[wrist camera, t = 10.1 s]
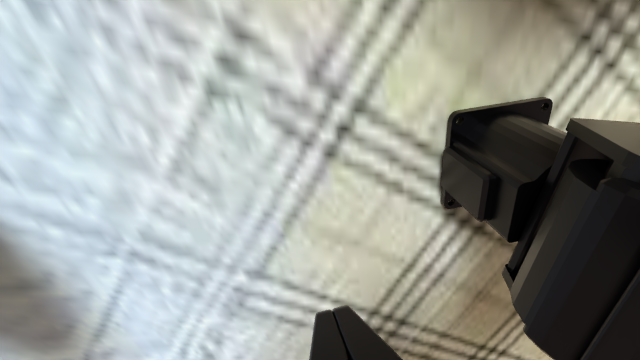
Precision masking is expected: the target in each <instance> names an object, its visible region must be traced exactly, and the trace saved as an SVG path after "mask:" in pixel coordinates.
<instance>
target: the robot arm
mask: <svg viewBox="0 0 640 360" xmlns="http://www.w3.org/2000/svg"><path fill="white" fill-rule="evenodd" d="M543 104H544V105H543ZM552 104H553V103H552V100H550V99H548V98H545V97H539V98H532V99H526V100H520V101H514V102H507V103H501V104H495V105H489V106H482V107H476V108H470V109H464V110H457V111H454V112H453V113H452V114H451V115H450V116H449V119H448V128H447V139H446V148H445V150H444V153H443V164H442V176H441V186H442V195H441V203H442V205H443V206H444V207H445V208H447V209H452V208H457V207H462V206H463V207H464V208H465V209H466V210H467V211H468V212H469V213H470V214H471V215H473V216H474V217H475V218H476V219H477V220H478V221H480V222H484V221H486V222H487V223H488V224H489V225H490V226H491V227H492V228H493V229H495V230H496V231H497V232H498V233H499V234H500V235H501V236H502V237H503V238H504V239H506V240H507V241H508V242H509V243H512V242H517V241H518V243H517V245H516V247H515V250H514V252H513V254H512V256H511V259H510V261H509V263H508V264H506V265H505V267H504V269H503V271H502V275H503V278H504V280H505V282H506V284H507V286H508V288H509V290H510V293H511V298H512V303H513V306H514V308H515V309H516V311H517V312H518V314H519V316H520V317H521V319H522V321H523V322H524V323H525V326H524V327H523V330H524V332H525V334H526V335H527V336H528V338H529V339H530V340H531V341H532V342H533V343H534V344H535V345H536V346H537V347H538V348H540V349H541V350H542V351H543V352H544V353H545V354H547V355H548V356H549V357H551V358H552V359H553V360H640V123H635V122H621V121H607V120H594V119H580V118H571V119H570V121H569V123H568V125H567V128H566V131H568V132H567V133H565V132H563V131H561V130H558V129H556V128H554V127H551V126H549V125H548V123H549V118H550V114H551V110H552ZM542 105H543V107H542ZM541 107H542V108H541ZM458 117H460V120H459V121H458V122H457V123H456V119H457V118H458ZM450 199H451V201H450V202H448V201H449V200H450ZM309 360H403V359H402V358H401V357H400V356H399V355H398V354H397V353H396V352H395V351H394V350H393V349H392V348H391V347H390V346H389V345H388V344H387V343H386V342H385V341H384V340H383V339H382V338H381V337H380V336H379V335H378V334H377V333H376V332H374V331H373V330H372V329H371V328H370V327H369V326H368V325H367V324H366V323H365V322H364V321H363V320H362V319H361V318H360V317H359V316H358V315H357V314H356V313H355V312H354V311H353V310H352V309H351V308H350V307H349V306H347V305H345V306H341V307H337V308H334V309H333V311H332V310H325V311H321V312H318V313H316V316H315V323H314V330H313V337H312V344H311V352H310V359H309Z"/></svg>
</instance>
